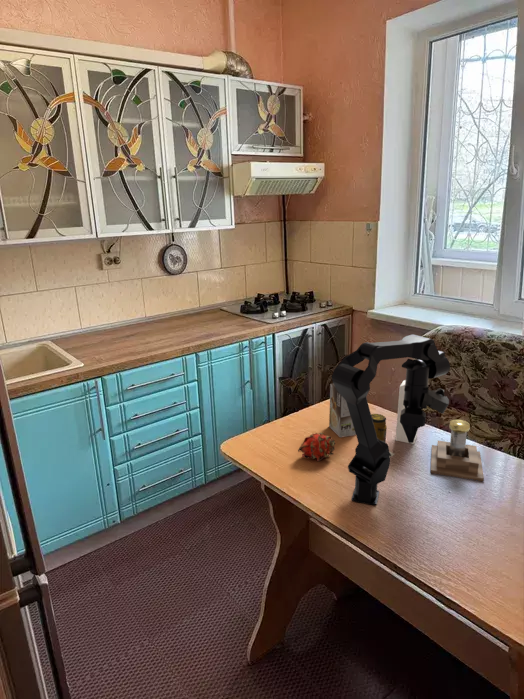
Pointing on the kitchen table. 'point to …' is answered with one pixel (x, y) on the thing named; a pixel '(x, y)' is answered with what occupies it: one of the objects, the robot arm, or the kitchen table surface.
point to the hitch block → (456, 462)
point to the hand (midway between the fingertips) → (411, 435)
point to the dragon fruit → (317, 446)
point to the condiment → (380, 427)
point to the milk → (399, 428)
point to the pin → (458, 437)
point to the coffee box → (339, 414)
